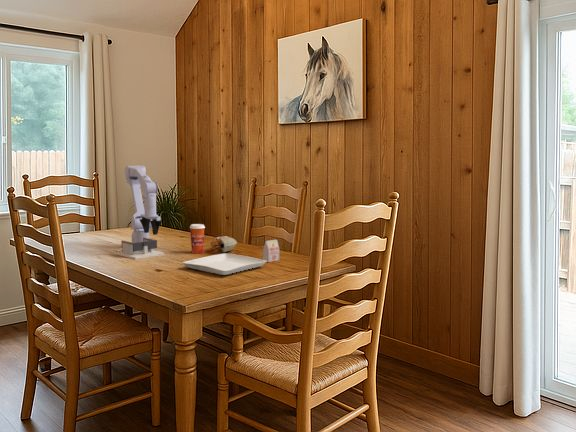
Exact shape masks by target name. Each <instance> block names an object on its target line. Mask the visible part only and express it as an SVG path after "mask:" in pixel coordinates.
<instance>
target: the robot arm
mask: <svg viewBox="0 0 576 432" xmlns="http://www.w3.org/2000/svg"><path fill="white" fill-rule="evenodd" d="M146 171H147V168H146V166H145V165H143V164H141V165H126V166H125V167H124V177H125V181H126V183H127V184H129V186H130V190H131V196H132V201H133V206H134V212H135V213H134V214H133V215H132V216H131V217H130V220H131V221H130V222H131V225H130V226H131V229H132V233H131V242H132V243H137V242H143V238H149V239H150V232H151V230H152V235H154V236H155V235H158V234H159V233H158V232H159V229H160V226H161V224H162V222H163V221H162V220H161V219H162V218H161V216H159V214H157V194H158V190H159V188H158V187H159V186H158V183H157V182H155V181H152V179H151V178H150V176H149V175H147V174H146V173H147V172H146ZM141 188H142V189H141ZM141 190H142V191H141Z"/></svg>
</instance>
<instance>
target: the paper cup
mask: <svg viewBox="0 0 576 432" xmlns="http://www.w3.org/2000/svg"><path fill="white" fill-rule="evenodd" d="M205 228H206V226H205V224H204V223H203V224H202V223H192V224H190V226H189V229H190V230H189V231H190V243H191V246H190V247H191V254H195V255H196V254H203V253H204V247H205V245H204V244H205Z"/></svg>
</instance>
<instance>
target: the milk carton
mask: <svg viewBox="0 0 576 432" xmlns="http://www.w3.org/2000/svg"><path fill="white" fill-rule="evenodd" d="M262 260H266V261H267V262H270V263H273V262H272V261H276V262H279V261H280V245H279V242H278V239H272V240H271V239H270V240H265V242H264V246H263V248H262ZM278 260H279V261H278ZM267 262H266V263H267Z"/></svg>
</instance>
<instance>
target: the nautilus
mask: <svg viewBox="0 0 576 432" xmlns="http://www.w3.org/2000/svg"><path fill="white" fill-rule="evenodd" d="M208 244H209V246H208V247H211V248H210V249H208V250H206V251H207V252H208V251H211V250H213V251H211V252H209V254H212V255H218V254H223V253H226V252H230V251H232V250H233V249H234V248H235V247H236V246H237V244H238V241H237V240H236V239H235V238H233V237H230V236H227V235H225V236H224V235H223V236H217V237H216V238H214V239H213V240H211V242H209V243H207V245H208Z"/></svg>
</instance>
